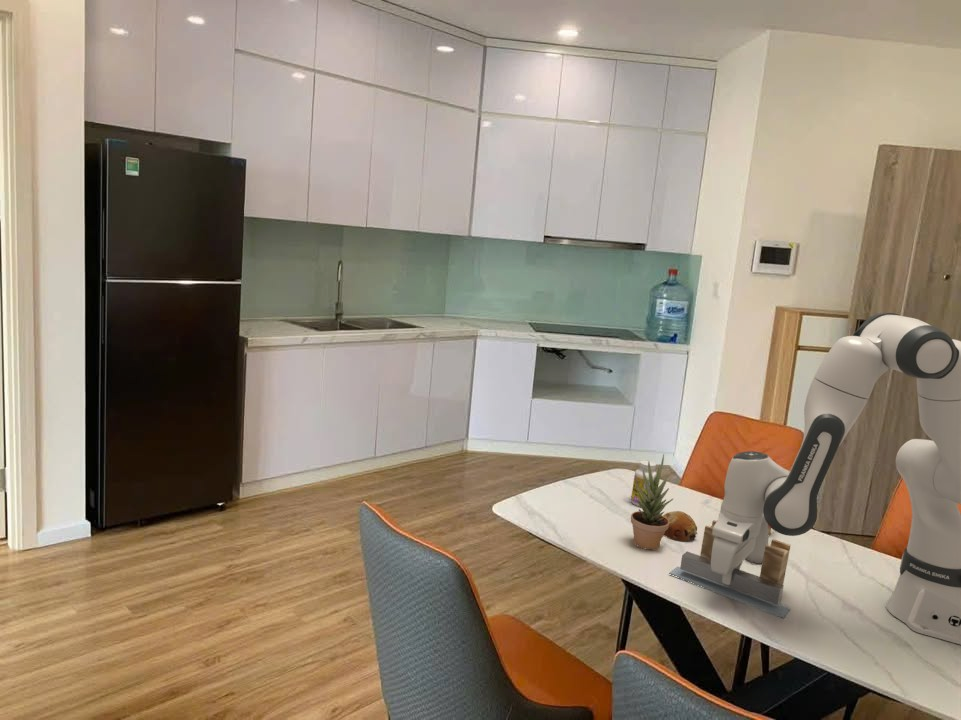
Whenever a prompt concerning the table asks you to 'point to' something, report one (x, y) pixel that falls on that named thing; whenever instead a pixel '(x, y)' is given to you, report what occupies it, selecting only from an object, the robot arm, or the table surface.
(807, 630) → the table surface
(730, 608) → the table surface
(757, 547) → the salt shaker
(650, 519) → the potted plant
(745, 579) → the bar
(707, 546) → the stand far
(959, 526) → the robot arm
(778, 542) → the stand near
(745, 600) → the grey flat bar
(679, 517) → the bread roll
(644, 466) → the supplement bottle
